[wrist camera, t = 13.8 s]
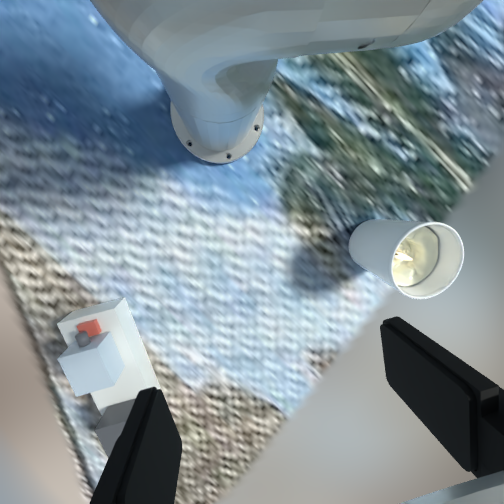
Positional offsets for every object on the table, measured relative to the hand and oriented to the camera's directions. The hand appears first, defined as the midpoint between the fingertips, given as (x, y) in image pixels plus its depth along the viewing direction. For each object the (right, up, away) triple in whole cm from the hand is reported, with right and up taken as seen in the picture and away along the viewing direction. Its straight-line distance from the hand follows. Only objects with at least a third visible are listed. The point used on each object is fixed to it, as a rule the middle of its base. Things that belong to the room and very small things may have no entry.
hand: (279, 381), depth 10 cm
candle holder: (+19, +7, +32) cm, 38 cm away
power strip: (-22, -14, +32) cm, 41 cm away
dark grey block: (-21, -20, +33) cm, 44 cm away
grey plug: (-24, -9, +30) cm, 39 cm away
